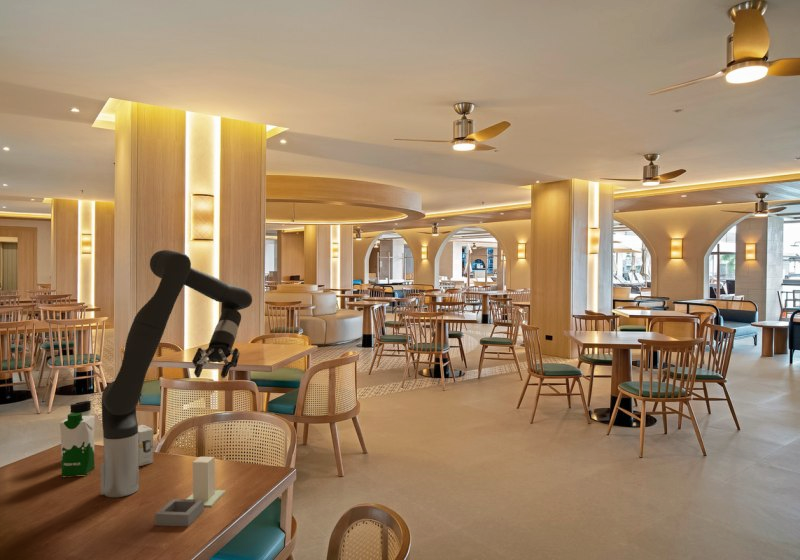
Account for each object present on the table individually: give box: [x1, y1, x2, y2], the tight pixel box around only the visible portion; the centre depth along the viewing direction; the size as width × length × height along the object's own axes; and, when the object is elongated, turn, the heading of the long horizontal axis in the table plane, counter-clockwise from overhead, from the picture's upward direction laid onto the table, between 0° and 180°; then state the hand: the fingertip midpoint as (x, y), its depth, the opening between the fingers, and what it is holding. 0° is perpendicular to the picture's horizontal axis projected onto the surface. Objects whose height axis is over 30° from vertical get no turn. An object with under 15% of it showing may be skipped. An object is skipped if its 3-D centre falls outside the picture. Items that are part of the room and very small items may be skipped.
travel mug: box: [69, 400, 92, 416], centre depth 187 cm, size 6×7×20 cm
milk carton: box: [59, 413, 96, 477], centre depth 172 cm, size 9×9×20 cm
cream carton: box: [192, 456, 216, 500], centre depth 153 cm, size 4×4×11 cm
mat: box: [186, 489, 227, 508], centre depth 153 cm, size 9×10×1 cm
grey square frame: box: [154, 498, 205, 527], centre depth 141 cm, size 9×9×3 cm
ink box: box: [138, 424, 154, 467], centre depth 182 cm, size 9×5×12 cm, turn 50°
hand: (209, 376), depth 168 cm, fingers open, 8 cm apart
